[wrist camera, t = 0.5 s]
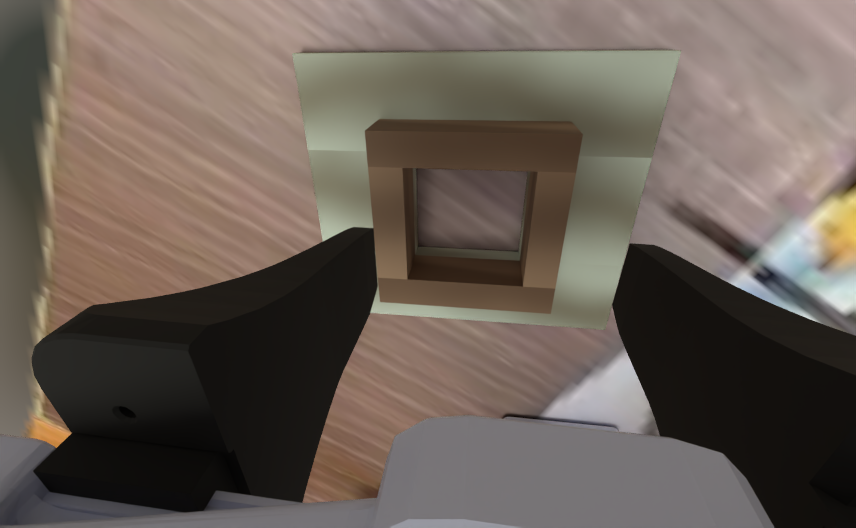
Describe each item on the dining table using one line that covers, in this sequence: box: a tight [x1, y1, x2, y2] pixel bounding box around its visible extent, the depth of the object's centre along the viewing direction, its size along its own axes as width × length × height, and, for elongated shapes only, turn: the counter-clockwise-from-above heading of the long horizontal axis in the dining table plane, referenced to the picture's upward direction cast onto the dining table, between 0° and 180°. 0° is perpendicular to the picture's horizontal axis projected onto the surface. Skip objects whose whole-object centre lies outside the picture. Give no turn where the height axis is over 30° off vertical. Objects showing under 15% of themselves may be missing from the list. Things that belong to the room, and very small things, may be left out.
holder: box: [292, 50, 681, 330], centre depth 19 cm, size 14×16×4 cm
